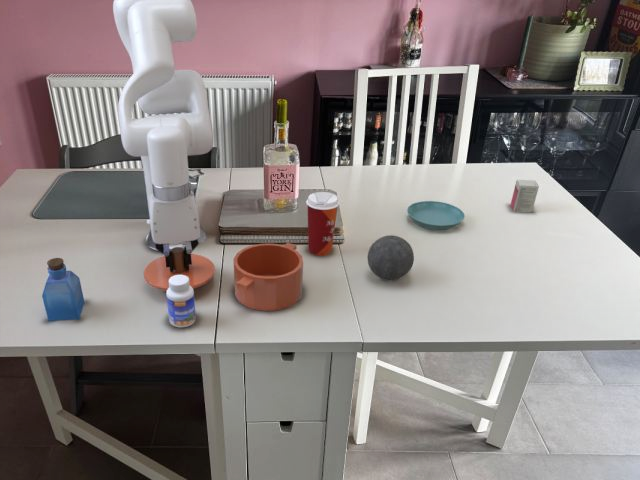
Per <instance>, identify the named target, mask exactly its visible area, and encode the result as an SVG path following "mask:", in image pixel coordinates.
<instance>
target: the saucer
mask: <svg viewBox="0 0 640 480" xmlns="http://www.w3.org/2000/svg"><path fill="white" fill-rule="evenodd" d="M406 212H407V214H408V217H409V218H410V219H411V220H412V221H413V222H414V223H415V224H416V225H418V226H419V227H422V228H424V229H427V230H431V231H446V230H450V229H452V228H454V227H457V226H458V225H460V224H461V223H462V222H463V221H464V220H465V217H466V216H465V215H466V214H465V213H464V212H463V210H462V209H461V208H459V207H458V206H455V205H453V204H450V203H447V202H443V201H435V200H424V201H417V202H414V203H412V204H410V205H409V206H408V207H407V209H406Z"/></svg>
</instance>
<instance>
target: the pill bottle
mask: <svg viewBox="0 0 640 480" xmlns="http://www.w3.org/2000/svg"><path fill="white" fill-rule="evenodd" d="M165 294H166V303H167V305H166V306H167V314H168V319H169V323H170V325H171V326H173V327H174V328H175V327H176V328H187V327H190V326H192V325H193V324H194V323H195V321H196V319H197V318H196V317H197V316H196V301H195V291H194V288H192V287H191V286H190V282H189V278H188V277H187V276H185V275H175V276H172V277H171V278H170V279H169V288H168V289H167V290H166V293H165Z"/></svg>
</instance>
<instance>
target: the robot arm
mask: <svg viewBox="0 0 640 480" xmlns="http://www.w3.org/2000/svg"><path fill="white" fill-rule="evenodd" d="M112 12H113V19H114V23H115V26H116V29H117V33H118V35H119V37H120V40H121V42H122V44H123V46H124V48H125V50H126V51H127V53H128V56H129V58H130V61H131V66H132V72H133V73H132V75H131V76H130V77H129V79H128V80H127V81H126V83H125V84H124V85H123V88H122V89H121V92H120V95H119V98H118V105H117V115H118V116H117V117H118V122H119V131H120V139H121V144H122V147H123V150H124V151H125V153H126V154H127V155H129V156H130V157H136V158H139V157H140V159H141V164H142V169H143V170H142V171H143V177H144V183H145V192H146V199H147V207H148V216H149V219H147V220H146V224H147V225H148V226H149V228H150V231H149V232H148V234H147V235H146V237H145V245H146V246H147V247H148V248H149V249H152V250H153V251H157V252H160V254H163V256H165V260H166V267H170V272H173V261H172V254H171V249H173V248H175V247H182V248H184V256H185V266H186V270H189V265H192V260H191V254H193V251H194V250H195V249H196V248H197V247H198V245H199V244H201V243H203V242H205V241H207V239H208V236H207V234H206V233H205V231H204V230H203V228H202V226H201V225H200V218H199V217H200V216H199V211H198V206H197V200H196V196H195V193H194V191H193V190H195V189H198V183H197V181H192V180H191V179H190V171H189V170H190V169H189V159H188V157H190V156H199V155H200V156H201V155H205V154H208V153H209V152H211V150H212V149H213V145H214V132H213V126H212V121H211V120H212V119H211V114H210V109H209V101H208V97H207V90H206V86H205V81H204V79H203V77H202V75H201V74H200V72H198V71H196V70H193V69H176V66H175V60H174V53H173V45H172V43H185V42H186V43H187V42H192V41H194V40H195V38H196V36H197V32H198V20H197V15H196V10H195V7H194V4H193V2H192V0H113V3H112ZM136 103H137V104H138V106H139V109H140V110H141V111H142V112H143V113H144V114H146V115H148V116H144V117H141V118H133V113H132V112H133V108H134V106H135V104H136Z"/></svg>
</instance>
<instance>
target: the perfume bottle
mask: <svg viewBox="0 0 640 480" xmlns="http://www.w3.org/2000/svg"><path fill="white" fill-rule="evenodd" d="M64 262H65V261H64V259H63V258H62V257H54V258H51V259H49V260H47V262H46V264H47V273H48V274H49V275H48V276H47V279H46V282H45V284H44V287H43V291H42V294H41V297H42V302H43V305H44V309H45V313H46V317H47V321H48V322H55V321H71V320H74V321H75V320H80V318H81V316H82V312H83V309H84V305H85V297H84V293H83V289H82V283H81V279H80V277H79V276H78V275H77V274H76V273H74V272H73V271H72V270H67V265H66V264H65V263H64Z"/></svg>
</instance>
